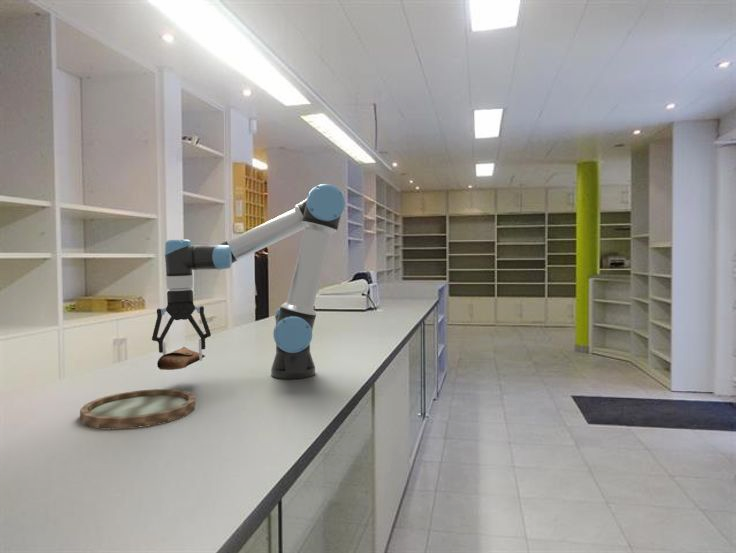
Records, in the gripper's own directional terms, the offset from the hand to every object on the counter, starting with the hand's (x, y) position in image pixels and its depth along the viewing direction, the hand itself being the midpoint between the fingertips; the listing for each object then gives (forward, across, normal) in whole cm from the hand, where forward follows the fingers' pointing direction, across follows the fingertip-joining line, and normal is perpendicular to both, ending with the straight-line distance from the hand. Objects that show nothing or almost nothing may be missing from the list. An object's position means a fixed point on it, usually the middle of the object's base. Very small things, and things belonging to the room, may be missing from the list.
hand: (183, 361), depth 158 cm
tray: (+8, +10, +23) cm, 26 cm away
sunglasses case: (+1, 0, 0) cm, 1 cm away
